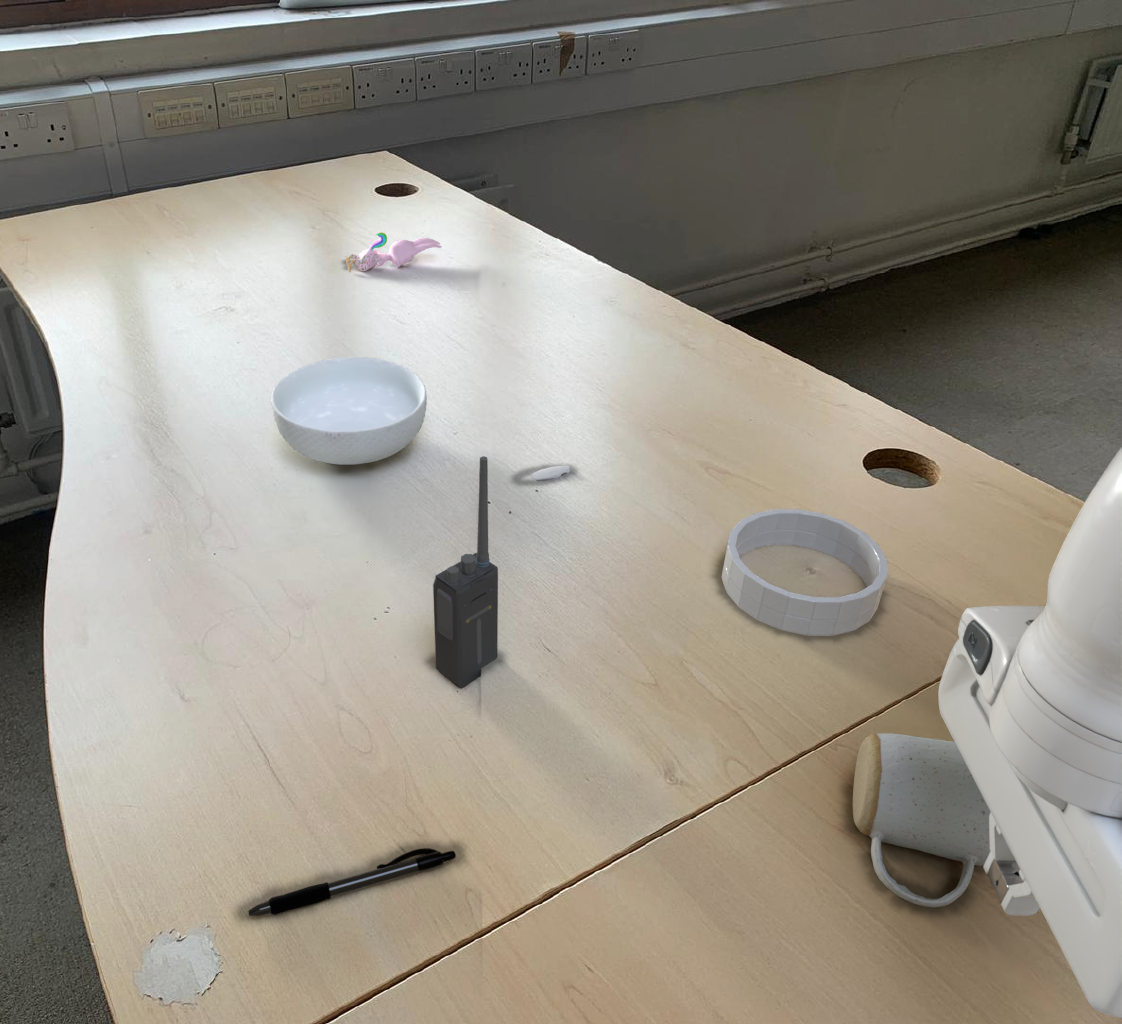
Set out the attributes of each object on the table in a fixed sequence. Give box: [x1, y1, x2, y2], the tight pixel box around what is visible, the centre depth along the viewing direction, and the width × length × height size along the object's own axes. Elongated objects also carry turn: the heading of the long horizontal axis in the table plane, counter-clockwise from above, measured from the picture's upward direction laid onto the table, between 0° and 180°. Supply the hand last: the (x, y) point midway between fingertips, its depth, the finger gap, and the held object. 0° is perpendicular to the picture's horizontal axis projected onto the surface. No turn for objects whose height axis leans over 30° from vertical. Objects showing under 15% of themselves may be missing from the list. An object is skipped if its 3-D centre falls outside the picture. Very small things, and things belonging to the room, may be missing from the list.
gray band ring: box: [721, 508, 889, 637], centre depth 89 cm, size 13×13×4 cm
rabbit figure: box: [344, 232, 442, 273], centre depth 154 cm, size 6×6×15 cm
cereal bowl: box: [270, 356, 428, 466], centre depth 110 cm, size 17×17×7 cm
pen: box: [248, 847, 457, 917], centre depth 66 cm, size 14×2×1 cm, turn 108°
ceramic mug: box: [852, 732, 991, 908], centre depth 66 cm, size 11×8×8 cm
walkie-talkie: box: [432, 456, 499, 689], centre depth 77 cm, size 5×3×20 cm
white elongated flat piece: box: [529, 464, 571, 482], centre depth 105 cm, size 6×2×1 cm, turn 105°
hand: (1007, 892), depth 56 cm, fingers closed
